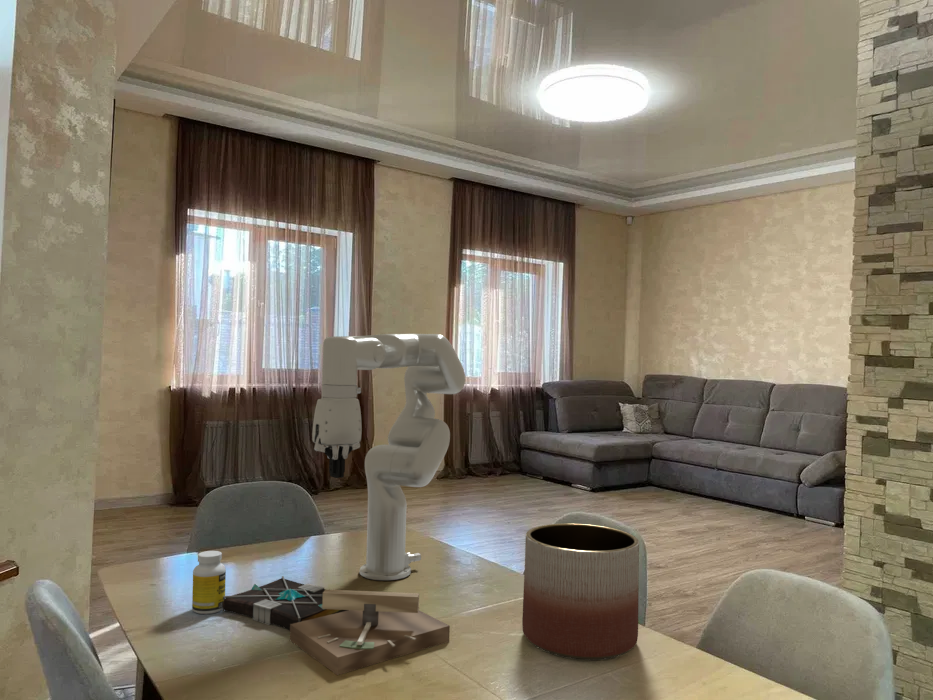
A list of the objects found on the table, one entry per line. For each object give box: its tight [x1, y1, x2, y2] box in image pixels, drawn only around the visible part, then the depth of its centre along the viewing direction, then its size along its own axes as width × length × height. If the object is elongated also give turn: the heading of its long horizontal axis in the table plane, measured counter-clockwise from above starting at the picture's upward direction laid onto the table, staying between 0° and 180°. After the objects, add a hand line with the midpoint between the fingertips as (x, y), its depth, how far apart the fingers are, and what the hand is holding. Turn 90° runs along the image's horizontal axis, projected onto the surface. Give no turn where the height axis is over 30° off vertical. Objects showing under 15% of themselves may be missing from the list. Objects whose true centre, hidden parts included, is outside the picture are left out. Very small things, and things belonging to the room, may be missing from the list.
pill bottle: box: [191, 550, 227, 615], centre depth 148 cm, size 6×6×12 cm
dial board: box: [289, 609, 451, 676], centre depth 134 cm, size 24×20×3 cm
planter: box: [521, 522, 640, 661], centre depth 138 cm, size 22×22×20 cm
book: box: [221, 575, 348, 631], centre depth 149 cm, size 22×17×5 cm
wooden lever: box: [322, 588, 420, 645], centre depth 130 cm, size 12×18×6 cm, turn 87°
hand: (336, 476), depth 156 cm, fingers closed
